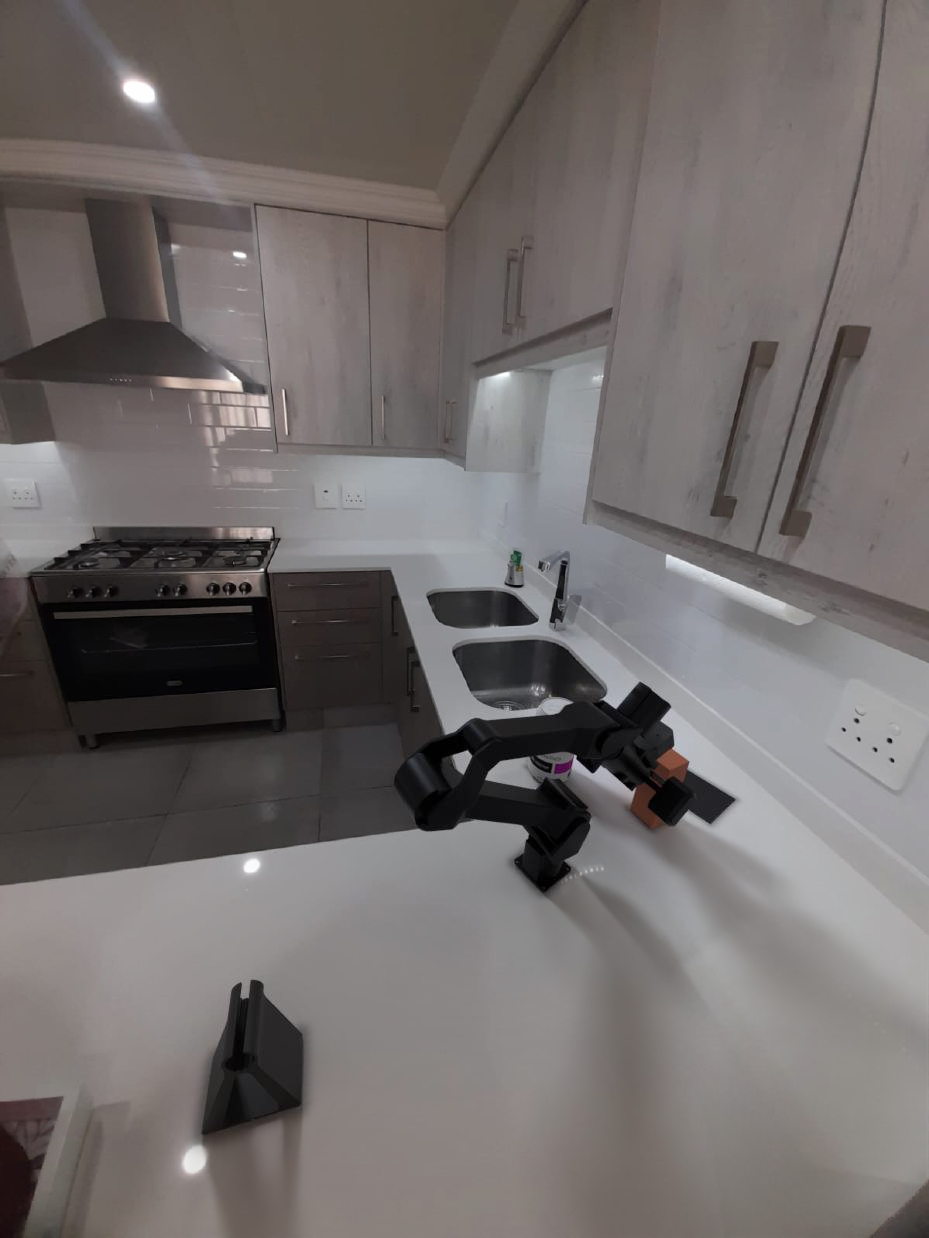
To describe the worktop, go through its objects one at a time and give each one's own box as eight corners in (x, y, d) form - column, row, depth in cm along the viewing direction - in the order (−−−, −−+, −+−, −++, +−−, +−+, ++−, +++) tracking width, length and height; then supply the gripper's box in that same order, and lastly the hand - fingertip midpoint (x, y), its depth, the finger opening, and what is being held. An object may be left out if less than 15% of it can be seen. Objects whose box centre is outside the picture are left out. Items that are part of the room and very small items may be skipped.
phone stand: (303, 1036, 54) (294, 969, 49) (301, 1105, 48) (291, 1039, 43) (213, 1059, 51) (195, 991, 46) (201, 1135, 46) (179, 1068, 41)
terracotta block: (651, 829, 84) (669, 770, 78) (629, 809, 88) (645, 751, 82) (671, 819, 86) (690, 761, 81) (648, 800, 90) (665, 743, 85)
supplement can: (567, 760, 99) (579, 697, 92) (571, 789, 91) (585, 723, 85) (527, 755, 99) (537, 693, 93) (528, 784, 92) (538, 718, 86)
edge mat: (709, 823, 86) (710, 823, 86) (649, 783, 94) (649, 782, 94) (735, 799, 92) (735, 798, 92) (676, 763, 100) (676, 762, 100)
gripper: (706, 750, 66) (732, 786, 76) (607, 683, 81) (640, 721, 91) (653, 813, 66) (686, 841, 76) (564, 734, 80) (601, 766, 90)
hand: (652, 787), depth 83 cm, fingers open, 9 cm apart
